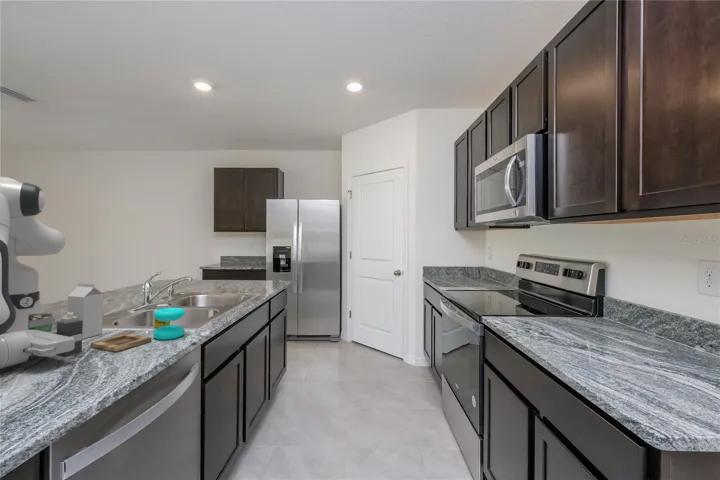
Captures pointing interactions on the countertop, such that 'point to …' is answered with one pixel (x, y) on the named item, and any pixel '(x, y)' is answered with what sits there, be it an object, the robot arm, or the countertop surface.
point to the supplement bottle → (161, 323)
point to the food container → (40, 322)
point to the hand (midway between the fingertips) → (72, 334)
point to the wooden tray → (120, 342)
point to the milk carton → (87, 308)
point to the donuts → (169, 330)
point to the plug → (70, 331)
